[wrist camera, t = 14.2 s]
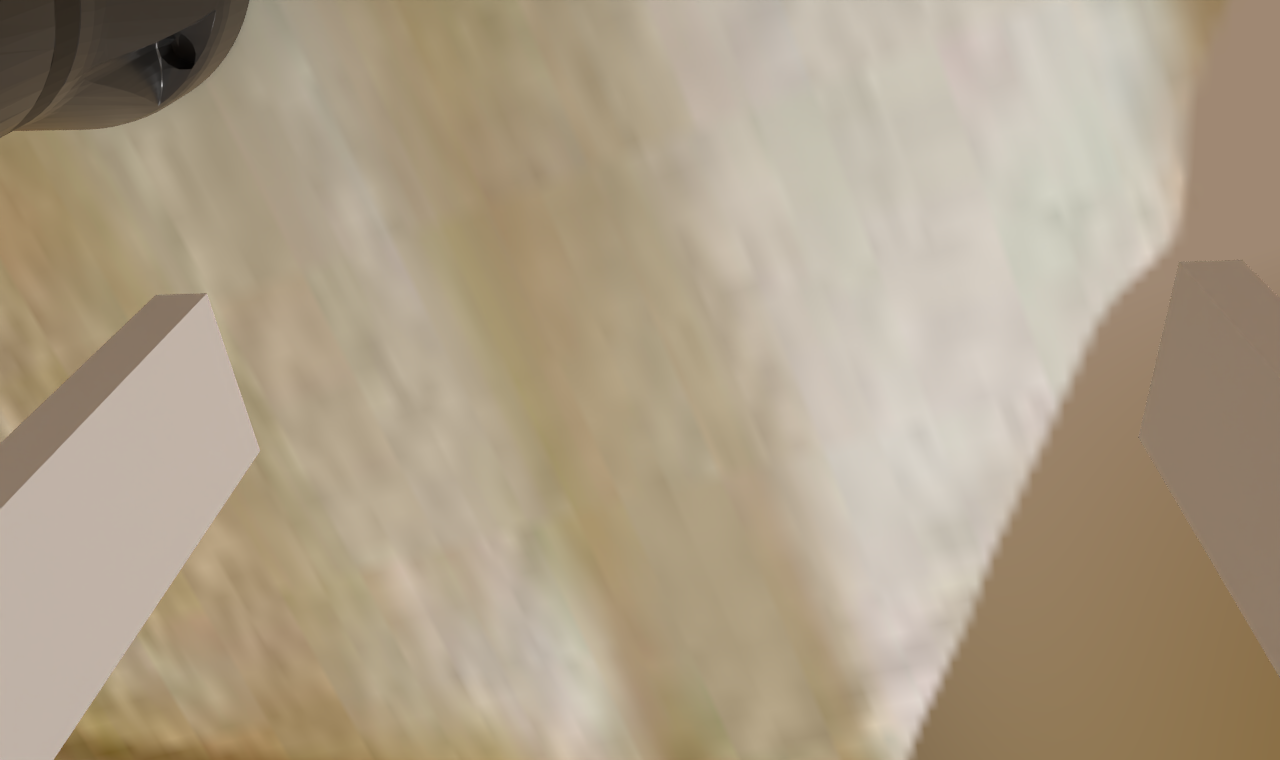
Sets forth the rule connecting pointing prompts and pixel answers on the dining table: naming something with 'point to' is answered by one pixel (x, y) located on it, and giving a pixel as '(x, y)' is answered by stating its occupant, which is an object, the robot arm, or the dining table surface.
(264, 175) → the dining table surface
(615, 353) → the dining table surface
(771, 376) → the dining table surface
